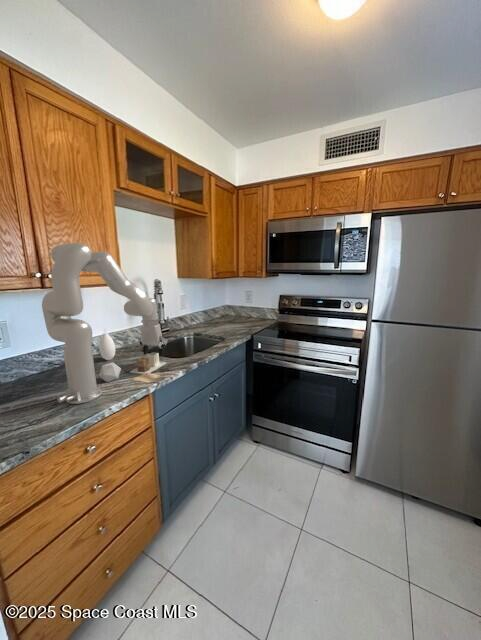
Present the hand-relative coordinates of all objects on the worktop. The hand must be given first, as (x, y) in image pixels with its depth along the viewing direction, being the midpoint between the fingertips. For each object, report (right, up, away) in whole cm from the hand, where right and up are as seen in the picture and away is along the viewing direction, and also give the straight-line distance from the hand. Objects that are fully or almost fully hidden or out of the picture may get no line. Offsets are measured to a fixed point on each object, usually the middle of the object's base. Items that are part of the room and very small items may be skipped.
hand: (154, 354), depth 139 cm
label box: (0, -6, +1) cm, 6 cm away
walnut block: (-3, -7, -7) cm, 10 cm away
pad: (+2, -9, -16) cm, 18 cm away
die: (-14, -10, -16) cm, 24 cm away
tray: (-1, -7, -3) cm, 8 cm away
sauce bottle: (-29, -5, +11) cm, 32 cm away
